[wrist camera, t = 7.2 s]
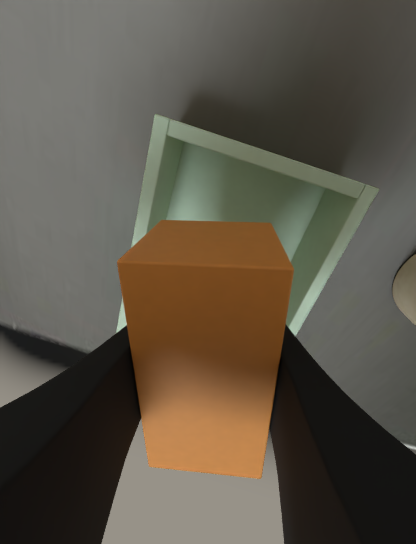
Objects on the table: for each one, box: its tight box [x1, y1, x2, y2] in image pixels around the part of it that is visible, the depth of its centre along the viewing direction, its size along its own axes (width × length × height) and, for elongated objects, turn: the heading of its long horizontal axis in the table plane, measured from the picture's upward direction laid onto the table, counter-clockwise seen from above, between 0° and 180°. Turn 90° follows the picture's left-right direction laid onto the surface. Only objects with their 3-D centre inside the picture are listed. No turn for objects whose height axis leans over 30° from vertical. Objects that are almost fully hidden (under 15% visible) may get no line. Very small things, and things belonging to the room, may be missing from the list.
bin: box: [116, 114, 379, 336], centre depth 15 cm, size 9×13×4 cm
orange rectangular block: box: [117, 220, 294, 479], centre depth 9 cm, size 4×8×4 cm, turn 0°
